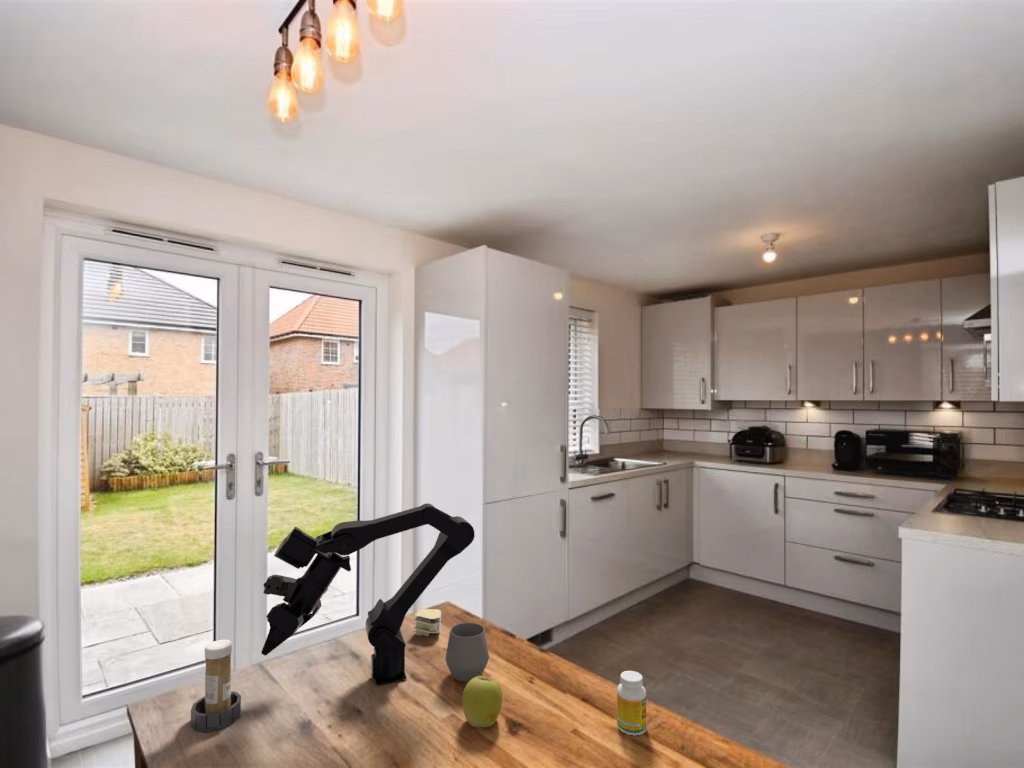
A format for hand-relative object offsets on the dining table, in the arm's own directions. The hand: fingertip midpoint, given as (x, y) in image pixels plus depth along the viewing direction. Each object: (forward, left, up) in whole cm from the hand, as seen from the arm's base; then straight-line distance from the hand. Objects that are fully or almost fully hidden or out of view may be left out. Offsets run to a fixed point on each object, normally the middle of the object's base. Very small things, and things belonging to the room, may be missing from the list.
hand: (271, 647), depth 111 cm
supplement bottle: (-63, +36, -10) cm, 73 cm away
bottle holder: (+9, +5, -10) cm, 14 cm away
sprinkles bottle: (+9, +4, -10) cm, 14 cm away
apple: (-38, +24, -10) cm, 46 cm away
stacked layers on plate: (-37, -17, -11) cm, 42 cm away
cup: (-40, +7, -10) cm, 42 cm away
